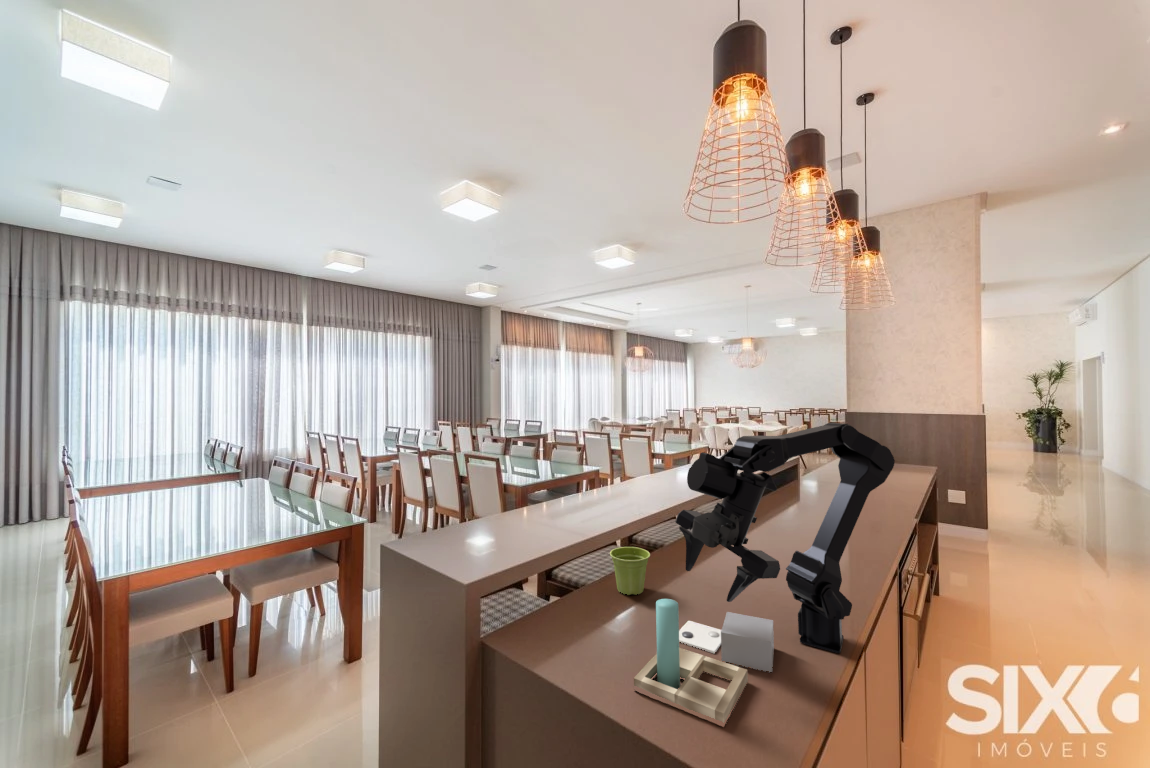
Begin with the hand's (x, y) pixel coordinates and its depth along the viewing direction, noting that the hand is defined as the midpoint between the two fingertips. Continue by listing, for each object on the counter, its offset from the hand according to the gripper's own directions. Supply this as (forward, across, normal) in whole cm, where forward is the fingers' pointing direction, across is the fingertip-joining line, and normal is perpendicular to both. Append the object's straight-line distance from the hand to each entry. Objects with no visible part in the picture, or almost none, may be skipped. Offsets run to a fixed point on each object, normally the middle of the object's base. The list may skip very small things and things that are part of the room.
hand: (707, 585), depth 82 cm
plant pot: (+17, -23, +11) cm, 31 cm away
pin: (+14, +6, -10) cm, 18 cm away
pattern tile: (+11, -1, +6) cm, 13 cm away
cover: (+8, +8, +7) cm, 14 cm away
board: (+12, +8, -7) cm, 16 cm away
